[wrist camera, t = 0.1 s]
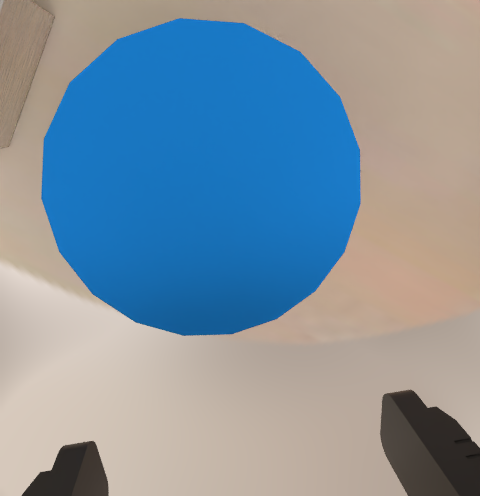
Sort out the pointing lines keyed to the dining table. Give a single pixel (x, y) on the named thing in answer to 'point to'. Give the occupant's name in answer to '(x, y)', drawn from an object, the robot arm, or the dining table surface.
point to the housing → (19, 57)
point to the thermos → (201, 177)
